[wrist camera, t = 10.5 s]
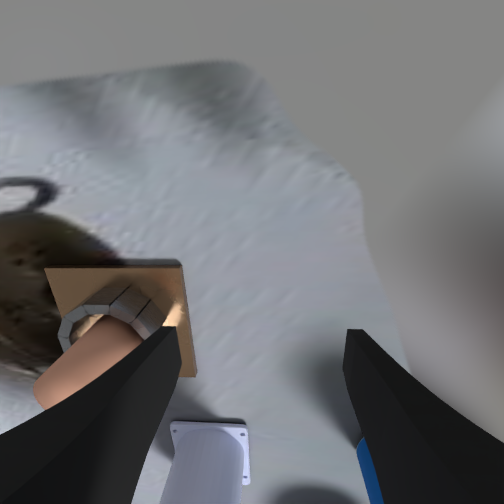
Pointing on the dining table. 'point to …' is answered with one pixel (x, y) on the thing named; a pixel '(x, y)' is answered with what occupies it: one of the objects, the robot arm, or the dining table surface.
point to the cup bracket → (123, 301)
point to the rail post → (86, 360)
